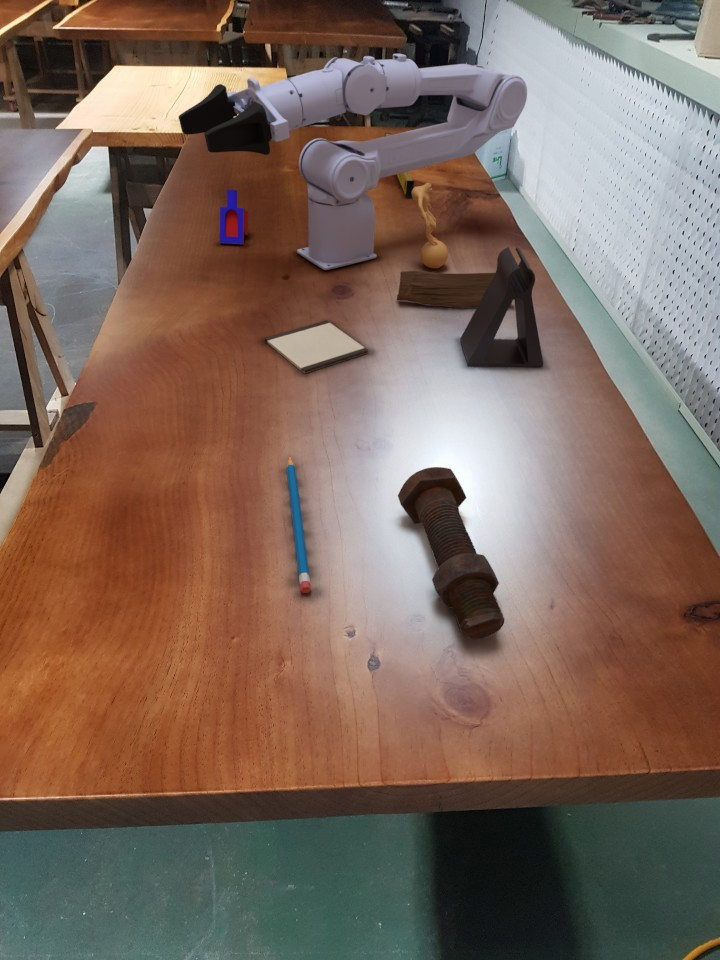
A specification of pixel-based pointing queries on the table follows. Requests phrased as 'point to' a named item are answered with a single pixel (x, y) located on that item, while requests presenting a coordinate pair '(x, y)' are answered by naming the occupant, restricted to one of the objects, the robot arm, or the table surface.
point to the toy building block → (233, 221)
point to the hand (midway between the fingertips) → (193, 133)
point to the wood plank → (444, 288)
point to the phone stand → (490, 314)
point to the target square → (315, 346)
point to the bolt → (453, 551)
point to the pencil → (298, 529)
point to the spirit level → (405, 180)
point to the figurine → (429, 229)
